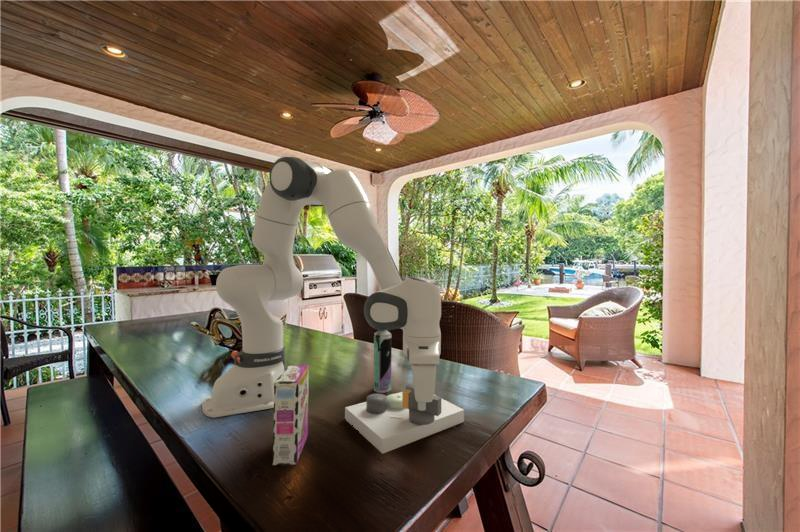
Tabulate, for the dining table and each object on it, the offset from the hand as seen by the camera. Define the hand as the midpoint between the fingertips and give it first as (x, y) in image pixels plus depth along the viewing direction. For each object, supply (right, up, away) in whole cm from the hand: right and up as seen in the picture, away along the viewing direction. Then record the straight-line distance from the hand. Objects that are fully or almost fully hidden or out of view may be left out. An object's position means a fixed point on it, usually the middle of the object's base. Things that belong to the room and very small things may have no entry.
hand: (421, 404), depth 76 cm
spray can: (-10, -6, +26) cm, 28 cm away
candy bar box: (-28, -7, -7) cm, 29 cm away
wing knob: (0, -4, 0) cm, 4 cm away
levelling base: (-4, -6, +6) cm, 9 cm away
